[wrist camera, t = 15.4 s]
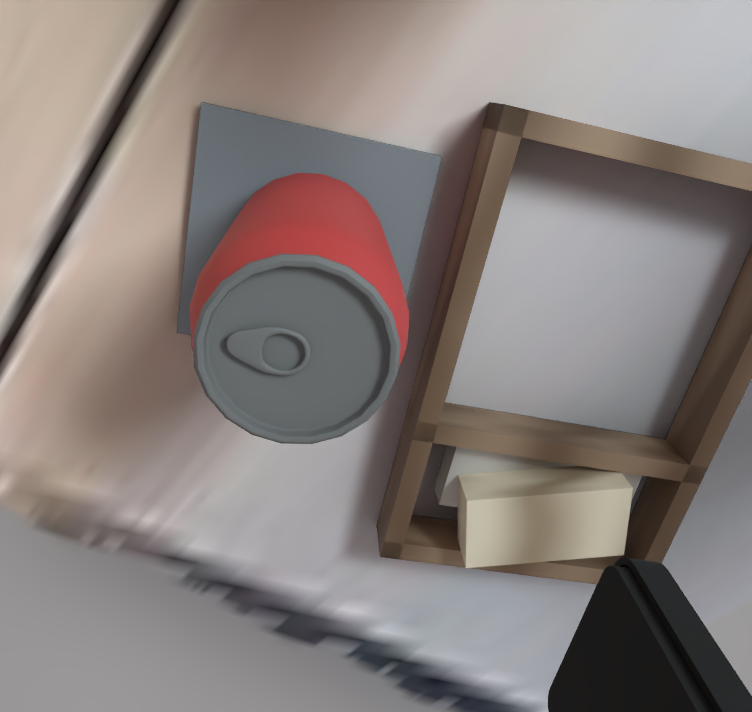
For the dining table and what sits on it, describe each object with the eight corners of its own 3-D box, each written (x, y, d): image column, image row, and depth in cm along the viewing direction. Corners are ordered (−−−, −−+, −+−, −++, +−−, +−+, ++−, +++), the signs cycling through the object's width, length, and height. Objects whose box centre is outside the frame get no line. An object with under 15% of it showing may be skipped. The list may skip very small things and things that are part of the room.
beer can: (244, 154, 26) (184, 210, 15) (399, 188, 27) (447, 262, 16) (224, 303, 29) (161, 442, 18) (367, 329, 30) (389, 476, 19)
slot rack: (804, 178, 29) (844, 186, 27) (628, 559, 37) (648, 590, 35) (489, 102, 27) (504, 104, 24) (376, 525, 35) (380, 556, 33)
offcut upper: (613, 462, 33) (633, 487, 30) (606, 527, 34) (624, 554, 32) (458, 474, 32) (467, 500, 30) (457, 539, 34) (465, 568, 32)
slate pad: (440, 155, 27) (441, 157, 27) (388, 364, 31) (389, 369, 31) (203, 102, 26) (201, 102, 26) (179, 328, 30) (176, 332, 29)
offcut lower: (627, 445, 35) (646, 467, 33) (602, 505, 36) (618, 530, 34) (451, 416, 33) (459, 437, 31) (432, 480, 35) (438, 504, 33)
